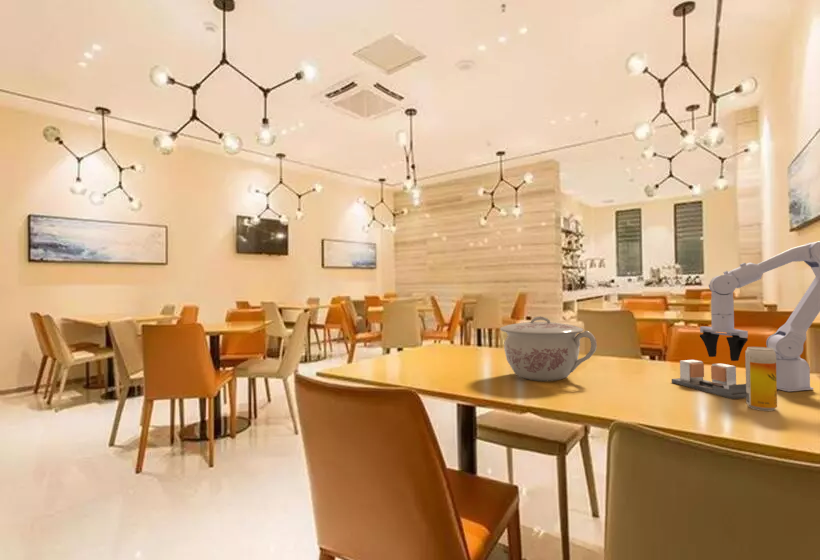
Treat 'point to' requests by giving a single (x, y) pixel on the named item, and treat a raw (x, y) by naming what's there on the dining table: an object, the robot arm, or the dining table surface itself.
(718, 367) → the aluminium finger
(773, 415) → the dining table surface
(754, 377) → the beer can
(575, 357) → the chamber pot
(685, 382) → the rail
